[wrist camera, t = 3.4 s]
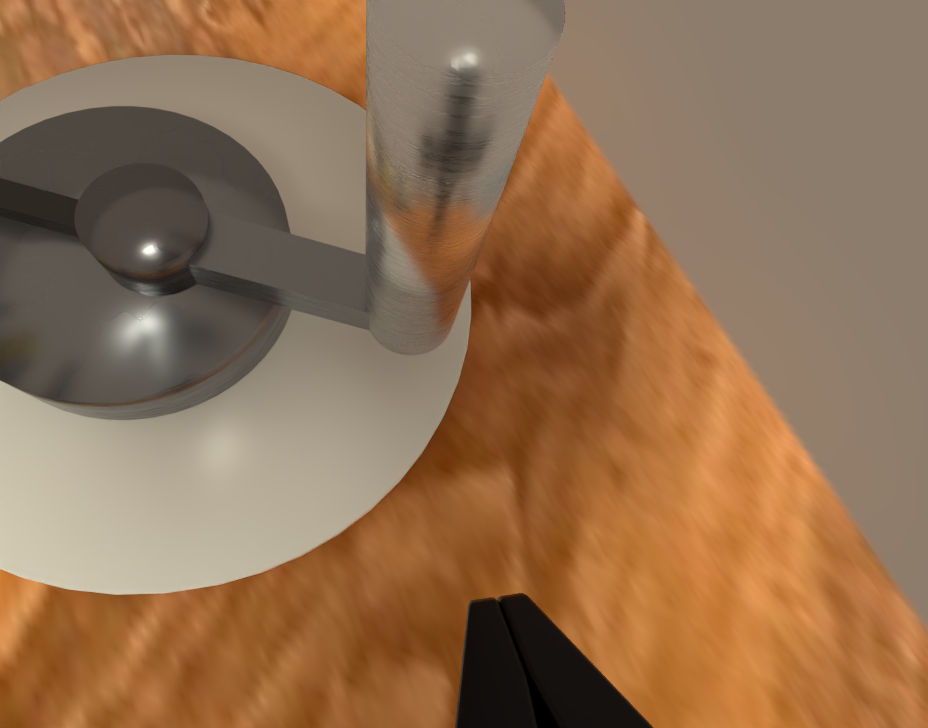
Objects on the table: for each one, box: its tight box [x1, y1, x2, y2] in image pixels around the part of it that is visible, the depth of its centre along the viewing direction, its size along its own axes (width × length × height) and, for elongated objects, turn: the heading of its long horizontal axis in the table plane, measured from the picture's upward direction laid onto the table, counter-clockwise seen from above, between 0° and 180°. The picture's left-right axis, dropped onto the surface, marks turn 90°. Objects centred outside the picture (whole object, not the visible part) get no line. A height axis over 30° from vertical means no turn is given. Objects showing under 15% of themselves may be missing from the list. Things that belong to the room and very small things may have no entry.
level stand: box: [0, 55, 471, 595], centre depth 17 cm, size 18×18×4 cm
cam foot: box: [0, 0, 565, 420], centre depth 12 cm, size 13×11×12 cm
